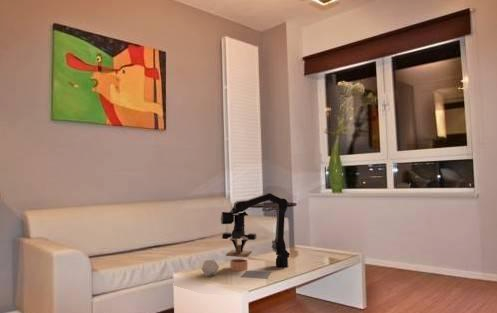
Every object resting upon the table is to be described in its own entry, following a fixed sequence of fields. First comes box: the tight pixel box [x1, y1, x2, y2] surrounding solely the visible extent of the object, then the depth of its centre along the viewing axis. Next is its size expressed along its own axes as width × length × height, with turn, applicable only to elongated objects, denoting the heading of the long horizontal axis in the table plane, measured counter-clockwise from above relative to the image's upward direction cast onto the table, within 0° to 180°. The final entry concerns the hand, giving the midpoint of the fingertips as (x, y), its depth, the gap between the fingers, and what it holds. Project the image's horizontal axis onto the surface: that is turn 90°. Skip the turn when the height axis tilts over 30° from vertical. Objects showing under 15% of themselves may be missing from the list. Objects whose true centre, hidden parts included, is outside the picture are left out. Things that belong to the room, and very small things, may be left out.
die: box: [201, 259, 220, 277], centre depth 194 cm, size 8×9×10 cm
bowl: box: [229, 258, 249, 272], centre depth 206 cm, size 10×10×5 cm
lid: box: [225, 243, 253, 258], centre depth 207 cm, size 12×12×5 cm
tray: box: [240, 270, 272, 280], centre depth 194 cm, size 14×14×1 cm
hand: (239, 251), depth 207 cm, fingers closed on lid, 2 cm apart
